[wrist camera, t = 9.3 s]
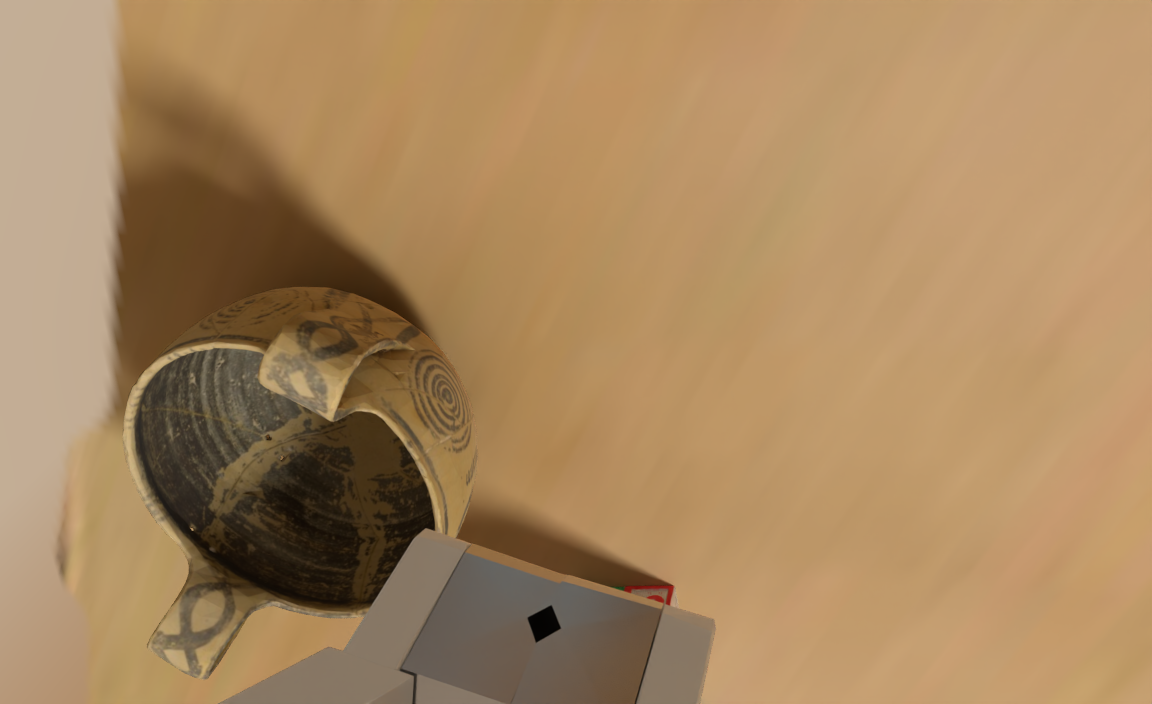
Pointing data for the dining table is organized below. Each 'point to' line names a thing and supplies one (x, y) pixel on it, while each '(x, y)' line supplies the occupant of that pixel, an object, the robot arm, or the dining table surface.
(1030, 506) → the dining table surface
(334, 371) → the ceramic bowl
